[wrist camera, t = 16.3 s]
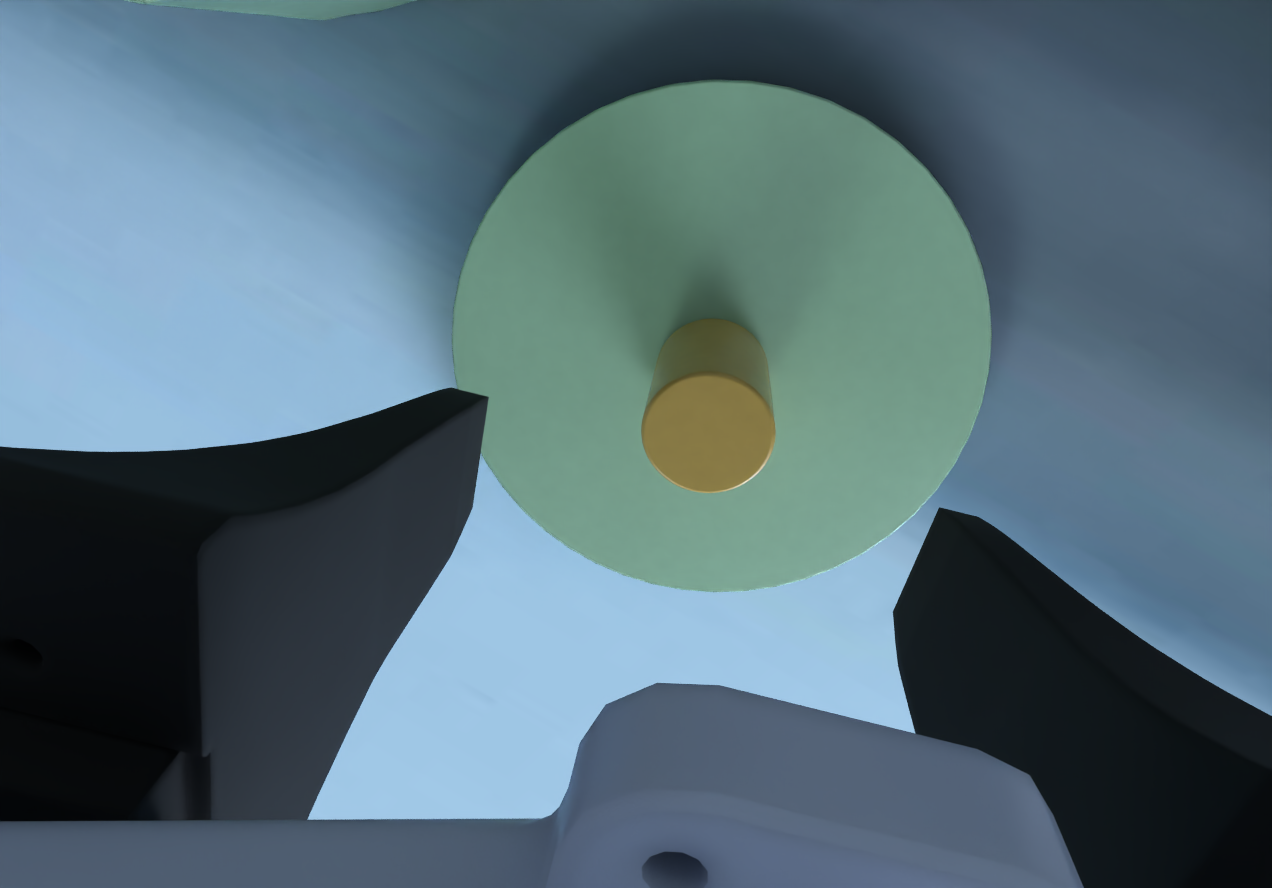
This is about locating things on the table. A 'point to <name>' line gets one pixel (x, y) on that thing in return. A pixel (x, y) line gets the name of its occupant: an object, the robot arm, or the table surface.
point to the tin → (285, 7)
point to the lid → (722, 335)
